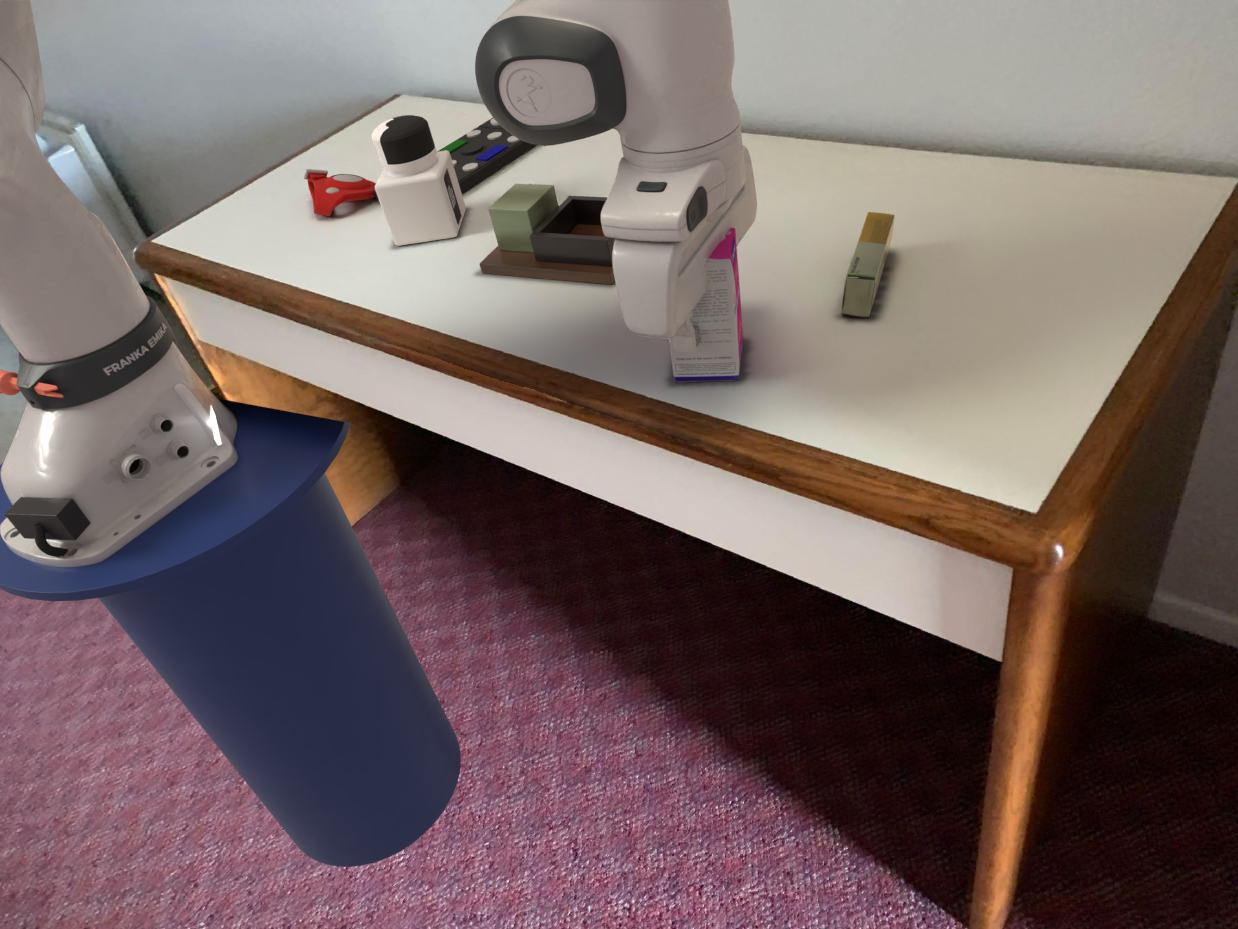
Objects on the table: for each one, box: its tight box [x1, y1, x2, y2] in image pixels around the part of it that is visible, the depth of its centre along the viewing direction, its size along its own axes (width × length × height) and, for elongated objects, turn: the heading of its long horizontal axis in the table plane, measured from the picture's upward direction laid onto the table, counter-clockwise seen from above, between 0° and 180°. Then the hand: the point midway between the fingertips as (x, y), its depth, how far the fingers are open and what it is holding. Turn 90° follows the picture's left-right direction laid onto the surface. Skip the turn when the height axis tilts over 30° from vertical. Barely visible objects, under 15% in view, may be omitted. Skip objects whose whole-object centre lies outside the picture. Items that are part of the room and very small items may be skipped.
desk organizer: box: [479, 183, 616, 285], centre depth 100 cm, size 12×16×6 cm
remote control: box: [373, 117, 537, 202], centre depth 127 cm, size 11×30×2 cm, turn 144°
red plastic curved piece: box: [303, 168, 377, 217], centre depth 123 cm, size 12×4×10 cm
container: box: [370, 114, 467, 247], centre depth 108 cm, size 8×8×13 cm
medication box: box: [840, 211, 895, 319], centre depth 85 cm, size 12×3×4 cm, turn 160°
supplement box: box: [668, 228, 745, 383], centre depth 77 cm, size 6×6×12 cm
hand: (705, 322), depth 78 cm, fingers closed on supplement box, 6 cm apart
